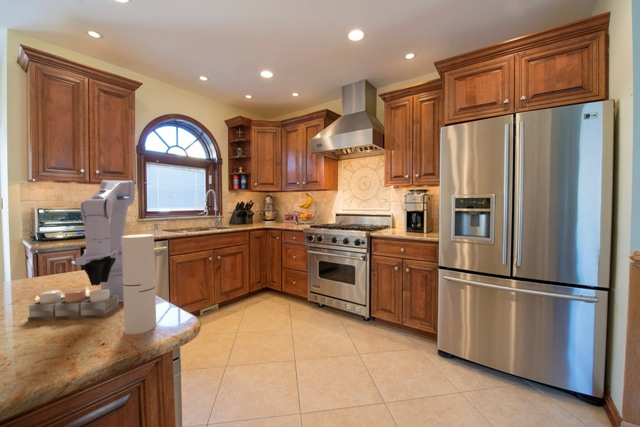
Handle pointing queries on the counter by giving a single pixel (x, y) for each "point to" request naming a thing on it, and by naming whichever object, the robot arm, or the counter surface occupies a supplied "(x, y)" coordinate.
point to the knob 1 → (50, 297)
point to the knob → (99, 295)
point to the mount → (73, 310)
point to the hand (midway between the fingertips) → (99, 283)
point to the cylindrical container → (138, 283)
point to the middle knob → (75, 296)
